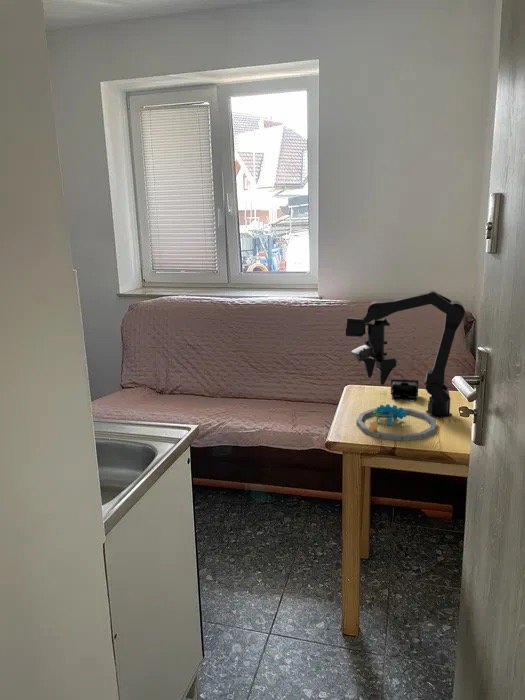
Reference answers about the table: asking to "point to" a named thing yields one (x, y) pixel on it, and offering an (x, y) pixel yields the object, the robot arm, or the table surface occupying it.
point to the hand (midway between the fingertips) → (375, 380)
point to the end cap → (404, 389)
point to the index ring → (399, 437)
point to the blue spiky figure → (389, 413)
